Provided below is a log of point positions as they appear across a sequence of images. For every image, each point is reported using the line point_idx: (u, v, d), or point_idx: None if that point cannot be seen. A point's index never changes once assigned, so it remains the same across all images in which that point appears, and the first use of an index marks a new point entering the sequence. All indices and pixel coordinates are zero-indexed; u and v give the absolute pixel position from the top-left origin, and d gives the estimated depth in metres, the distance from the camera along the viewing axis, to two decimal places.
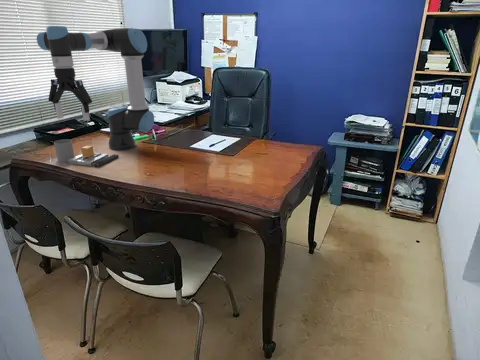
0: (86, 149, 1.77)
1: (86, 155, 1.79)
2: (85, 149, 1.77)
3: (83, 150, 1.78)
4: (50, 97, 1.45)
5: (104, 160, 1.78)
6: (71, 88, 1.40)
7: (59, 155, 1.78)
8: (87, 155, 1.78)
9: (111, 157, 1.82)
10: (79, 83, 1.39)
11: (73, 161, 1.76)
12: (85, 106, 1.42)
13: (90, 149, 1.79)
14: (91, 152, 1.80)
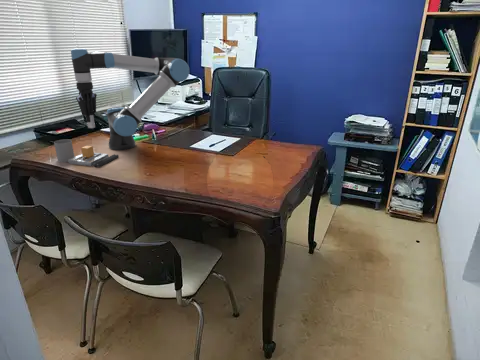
0: (86, 149, 1.77)
1: (86, 155, 1.79)
2: (85, 149, 1.77)
3: (83, 150, 1.78)
4: None
5: (104, 160, 1.78)
6: None
7: (59, 155, 1.78)
8: (87, 155, 1.78)
9: (111, 157, 1.82)
10: (77, 100, 1.70)
11: (73, 161, 1.76)
12: None
13: (90, 149, 1.79)
14: (91, 152, 1.80)
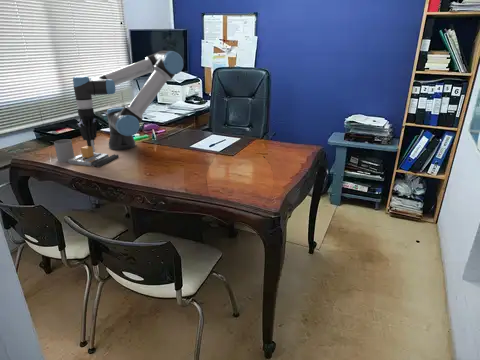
0: (86, 149, 1.77)
1: (86, 155, 1.78)
2: (85, 149, 1.77)
3: (83, 150, 1.78)
4: None
5: (104, 160, 1.78)
6: None
7: (59, 155, 1.78)
8: (87, 155, 1.78)
9: (111, 157, 1.82)
10: (78, 126, 1.73)
11: (73, 161, 1.76)
12: None
13: (90, 149, 1.79)
14: (91, 152, 1.80)
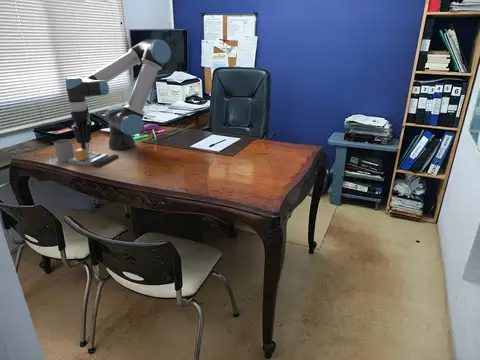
0: (79, 152, 1.73)
1: (79, 158, 1.74)
2: (78, 152, 1.73)
3: (76, 153, 1.74)
4: None
5: (104, 160, 1.78)
6: None
7: (59, 155, 1.78)
8: (80, 158, 1.74)
9: (111, 157, 1.82)
10: (72, 129, 1.69)
11: (73, 161, 1.76)
12: None
13: (83, 152, 1.75)
14: (84, 155, 1.75)
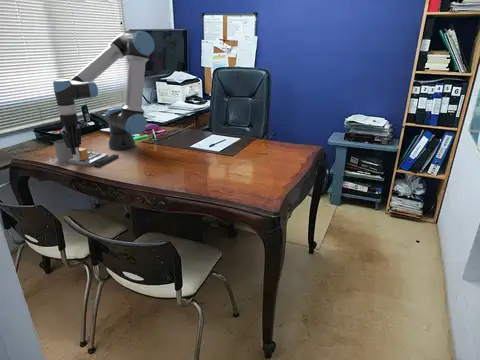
0: (80, 152, 1.73)
1: (80, 158, 1.75)
2: (79, 152, 1.73)
3: None
4: None
5: (104, 160, 1.78)
6: None
7: (59, 155, 1.78)
8: (81, 158, 1.75)
9: (111, 157, 1.82)
10: (61, 133, 1.62)
11: (73, 161, 1.76)
12: None
13: (84, 152, 1.75)
14: (85, 155, 1.76)
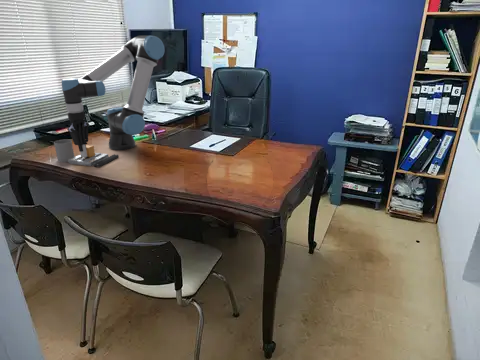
0: (87, 149, 1.78)
1: (87, 155, 1.79)
2: (86, 149, 1.78)
3: None
4: None
5: (104, 160, 1.78)
6: None
7: (59, 155, 1.78)
8: (88, 155, 1.79)
9: (111, 157, 1.82)
10: (69, 130, 1.67)
11: (73, 161, 1.76)
12: None
13: (91, 149, 1.80)
14: (92, 152, 1.81)
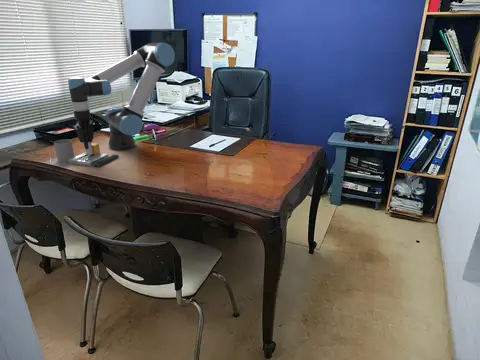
0: (92, 146, 1.82)
1: (92, 152, 1.83)
2: None
3: None
4: None
5: (104, 160, 1.78)
6: None
7: (59, 155, 1.78)
8: (93, 152, 1.83)
9: (111, 157, 1.82)
10: (75, 128, 1.70)
11: (73, 161, 1.76)
12: None
13: (96, 146, 1.83)
14: (97, 149, 1.84)
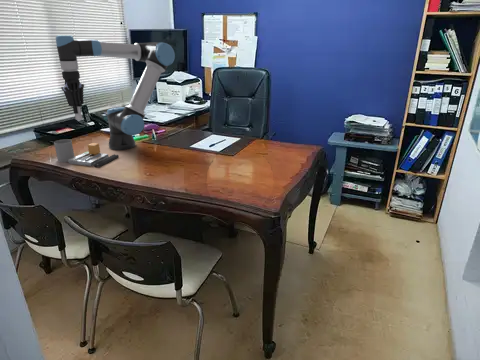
0: (92, 146, 1.82)
1: (92, 152, 1.83)
2: (91, 146, 1.82)
3: (90, 147, 1.82)
4: None
5: (104, 160, 1.78)
6: None
7: (59, 155, 1.78)
8: (93, 152, 1.83)
9: (111, 157, 1.82)
10: (63, 90, 1.61)
11: (73, 161, 1.76)
12: None
13: (96, 146, 1.83)
14: (97, 149, 1.84)
